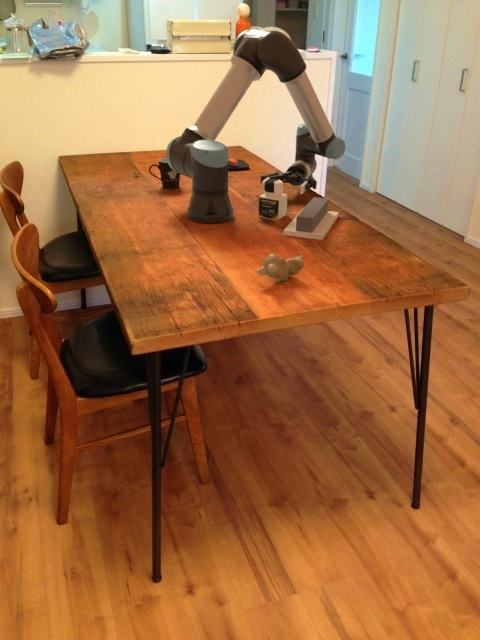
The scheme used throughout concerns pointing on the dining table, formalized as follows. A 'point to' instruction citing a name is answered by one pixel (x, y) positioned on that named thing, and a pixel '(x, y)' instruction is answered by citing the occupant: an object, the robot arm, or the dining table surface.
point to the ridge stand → (312, 220)
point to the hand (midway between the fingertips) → (281, 188)
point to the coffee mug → (167, 174)
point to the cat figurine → (280, 267)
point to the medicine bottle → (273, 200)
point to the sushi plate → (237, 164)
